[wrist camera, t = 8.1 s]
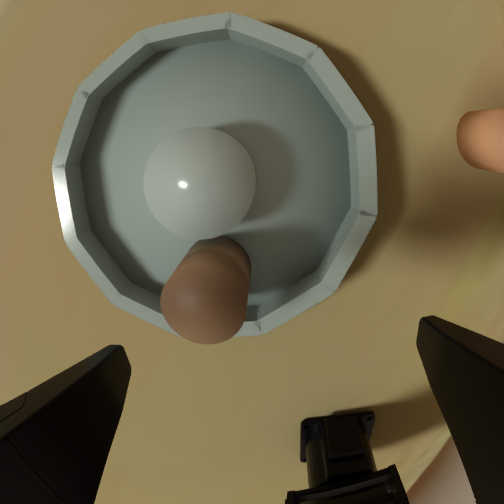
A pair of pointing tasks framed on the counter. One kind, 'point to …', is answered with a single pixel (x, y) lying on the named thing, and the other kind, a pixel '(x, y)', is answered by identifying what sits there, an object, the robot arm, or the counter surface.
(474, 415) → the robot arm
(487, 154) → the brown egg
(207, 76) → the groove tray
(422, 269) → the counter surface
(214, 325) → the brown rounded short cylinder
